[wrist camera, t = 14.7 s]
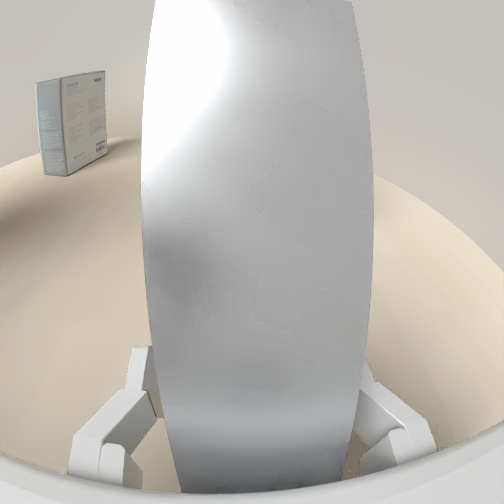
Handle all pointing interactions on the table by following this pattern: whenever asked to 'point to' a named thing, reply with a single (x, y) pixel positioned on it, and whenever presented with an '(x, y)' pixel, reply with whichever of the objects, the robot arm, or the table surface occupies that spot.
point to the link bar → (257, 237)
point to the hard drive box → (71, 121)
